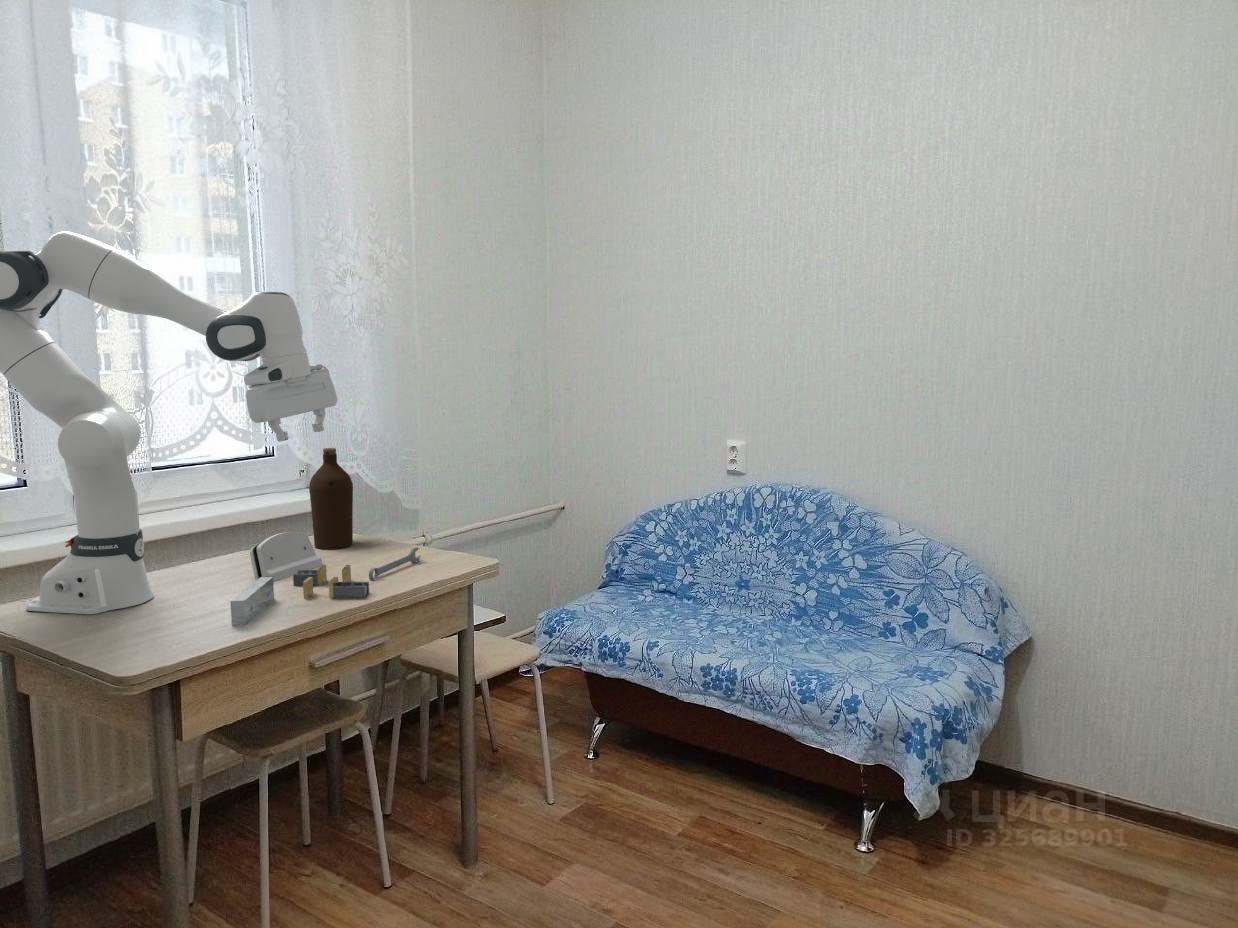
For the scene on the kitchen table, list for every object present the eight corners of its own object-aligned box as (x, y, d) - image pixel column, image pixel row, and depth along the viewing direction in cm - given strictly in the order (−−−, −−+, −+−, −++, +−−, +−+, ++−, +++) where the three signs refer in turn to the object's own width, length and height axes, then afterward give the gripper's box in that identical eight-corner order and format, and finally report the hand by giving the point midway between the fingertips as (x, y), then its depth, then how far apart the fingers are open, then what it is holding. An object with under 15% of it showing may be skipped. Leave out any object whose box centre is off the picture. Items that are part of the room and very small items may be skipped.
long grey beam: (231, 626, 177) (230, 600, 176) (261, 600, 194) (260, 577, 193) (245, 626, 177) (244, 600, 176) (274, 600, 194) (273, 576, 193)
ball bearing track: (278, 598, 194) (277, 582, 194) (299, 580, 208) (298, 565, 208) (364, 598, 195) (364, 581, 194) (380, 580, 208) (379, 564, 208)
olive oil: (363, 544, 242) (359, 448, 239) (327, 552, 234) (322, 452, 231) (340, 538, 249) (335, 444, 245) (303, 545, 241) (299, 448, 237)
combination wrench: (371, 567, 207) (422, 545, 226) (366, 567, 208) (418, 545, 226) (372, 584, 208) (423, 561, 226) (367, 583, 209) (418, 560, 227)
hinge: (271, 582, 207) (257, 538, 207) (256, 586, 209) (242, 543, 209) (324, 564, 222) (311, 524, 222) (309, 569, 224) (296, 529, 224)
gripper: (316, 364, 203) (329, 427, 206) (236, 378, 186) (251, 447, 189) (336, 361, 200) (349, 425, 202) (256, 376, 183) (272, 445, 185)
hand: (301, 436), depth 196 cm, fingers open, 8 cm apart
